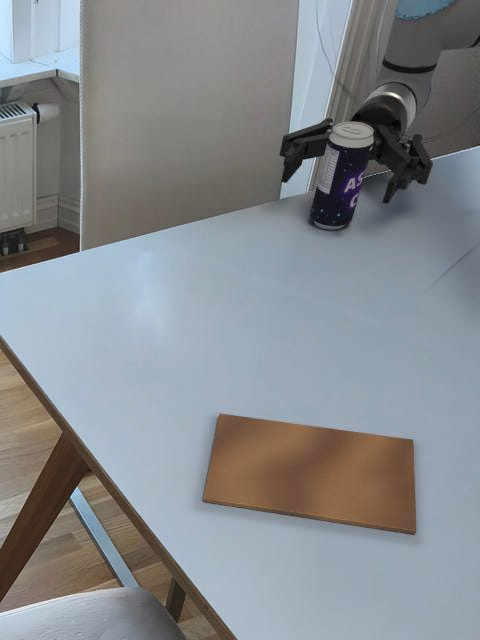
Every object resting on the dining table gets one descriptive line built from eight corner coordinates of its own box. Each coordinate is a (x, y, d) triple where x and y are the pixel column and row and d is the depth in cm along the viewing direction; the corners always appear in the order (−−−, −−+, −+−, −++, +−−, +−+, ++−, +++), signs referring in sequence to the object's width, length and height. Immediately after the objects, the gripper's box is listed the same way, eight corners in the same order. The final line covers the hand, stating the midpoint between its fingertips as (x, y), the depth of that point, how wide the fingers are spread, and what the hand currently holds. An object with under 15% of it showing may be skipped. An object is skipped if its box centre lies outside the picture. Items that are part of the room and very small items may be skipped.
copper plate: (412, 443, 92) (413, 439, 91) (414, 534, 83) (416, 530, 83) (218, 416, 96) (219, 413, 95) (202, 501, 87) (203, 498, 87)
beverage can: (335, 236, 119) (361, 142, 110) (300, 223, 122) (322, 129, 113) (358, 222, 122) (385, 128, 112) (323, 209, 124) (346, 116, 115)
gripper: (460, 167, 126) (423, 231, 114) (290, 135, 134) (240, 192, 123) (481, 109, 120) (444, 171, 108) (302, 79, 128) (250, 134, 117)
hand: (336, 182), depth 116 cm, fingers open, 13 cm apart
